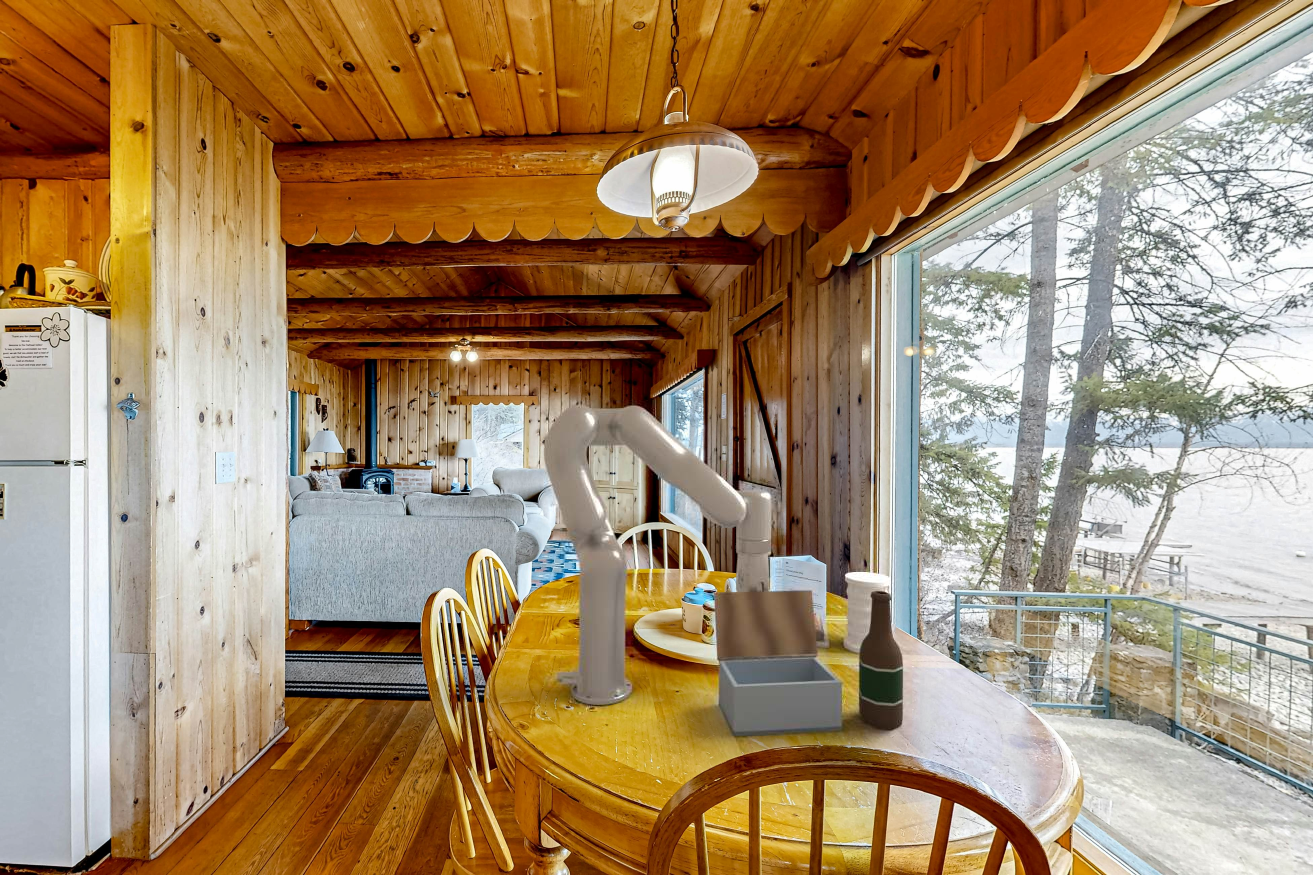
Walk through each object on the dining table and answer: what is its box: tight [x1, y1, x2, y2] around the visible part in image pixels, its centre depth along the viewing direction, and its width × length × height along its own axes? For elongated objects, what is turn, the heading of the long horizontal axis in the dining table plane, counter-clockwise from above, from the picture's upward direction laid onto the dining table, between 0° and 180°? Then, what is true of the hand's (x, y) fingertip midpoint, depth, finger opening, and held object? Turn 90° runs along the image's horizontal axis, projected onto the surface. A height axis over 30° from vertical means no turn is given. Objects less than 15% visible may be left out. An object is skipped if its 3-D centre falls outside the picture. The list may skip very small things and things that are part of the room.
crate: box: [718, 657, 843, 738], centre depth 105 cm, size 20×12×9 cm, turn 96°
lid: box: [713, 589, 819, 661], centre depth 113 cm, size 21×13×1 cm
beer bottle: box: [858, 591, 904, 731], centre depth 104 cm, size 8×8×24 cm
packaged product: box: [814, 614, 830, 649], centre depth 151 cm, size 18×5×10 cm
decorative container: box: [843, 571, 891, 654], centre depth 142 cm, size 12×12×18 cm
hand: (753, 629), depth 122 cm, fingers closed
